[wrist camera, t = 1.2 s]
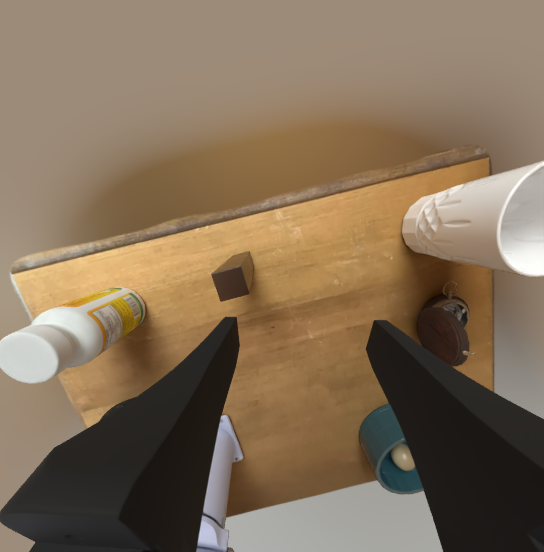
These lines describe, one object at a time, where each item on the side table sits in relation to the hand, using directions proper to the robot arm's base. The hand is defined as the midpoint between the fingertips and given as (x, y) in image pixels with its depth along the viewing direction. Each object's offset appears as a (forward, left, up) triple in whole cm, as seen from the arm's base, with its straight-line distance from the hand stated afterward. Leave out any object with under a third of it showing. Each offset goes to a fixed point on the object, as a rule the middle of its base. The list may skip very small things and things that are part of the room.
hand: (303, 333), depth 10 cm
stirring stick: (-4, +3, -13) cm, 14 cm away
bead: (+10, -29, -12) cm, 34 cm away
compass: (+18, -10, -13) cm, 25 cm away
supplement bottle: (-19, +1, -13) cm, 23 cm away
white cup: (+18, +1, -13) cm, 23 cm away
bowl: (+10, -27, -13) cm, 32 cm away
